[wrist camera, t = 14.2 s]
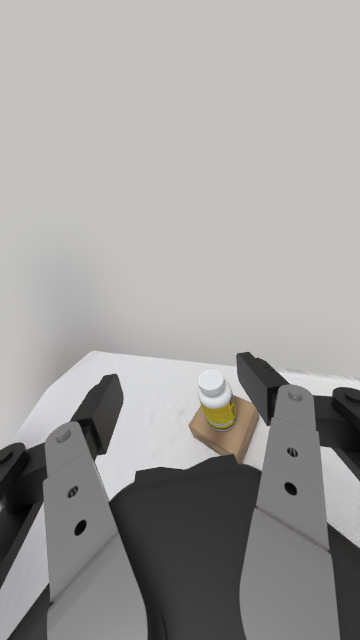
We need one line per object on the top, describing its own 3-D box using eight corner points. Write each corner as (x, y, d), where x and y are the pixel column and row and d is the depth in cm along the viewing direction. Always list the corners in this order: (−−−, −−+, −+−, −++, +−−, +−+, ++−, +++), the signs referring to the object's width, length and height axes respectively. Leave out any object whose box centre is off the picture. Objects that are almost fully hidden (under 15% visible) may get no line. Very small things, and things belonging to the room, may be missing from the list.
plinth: (194, 437, 33) (188, 425, 31) (216, 398, 38) (212, 386, 37) (240, 468, 27) (236, 456, 25) (258, 417, 32) (257, 405, 31)
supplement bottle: (242, 428, 28) (233, 389, 24) (209, 435, 29) (194, 398, 24) (232, 399, 33) (223, 362, 28) (204, 405, 34) (191, 370, 29)
